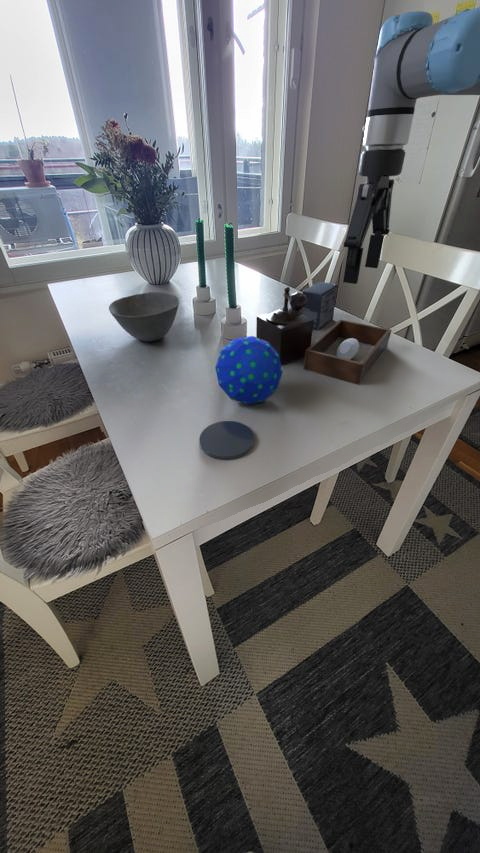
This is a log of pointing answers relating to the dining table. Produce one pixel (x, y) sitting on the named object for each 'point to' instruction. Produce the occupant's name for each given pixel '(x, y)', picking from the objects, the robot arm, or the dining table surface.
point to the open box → (341, 366)
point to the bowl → (146, 314)
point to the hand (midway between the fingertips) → (361, 274)
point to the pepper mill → (287, 328)
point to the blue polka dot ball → (248, 370)
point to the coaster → (226, 440)
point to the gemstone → (348, 349)
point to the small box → (320, 303)
